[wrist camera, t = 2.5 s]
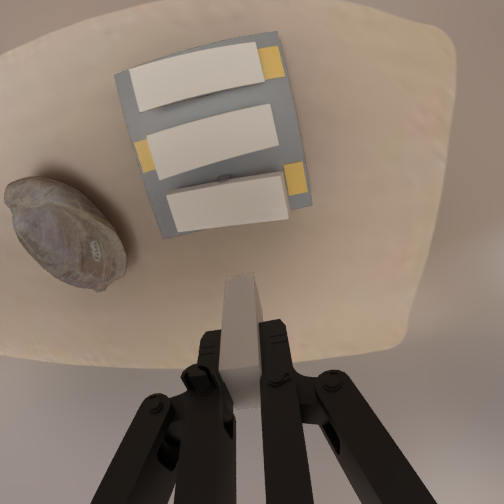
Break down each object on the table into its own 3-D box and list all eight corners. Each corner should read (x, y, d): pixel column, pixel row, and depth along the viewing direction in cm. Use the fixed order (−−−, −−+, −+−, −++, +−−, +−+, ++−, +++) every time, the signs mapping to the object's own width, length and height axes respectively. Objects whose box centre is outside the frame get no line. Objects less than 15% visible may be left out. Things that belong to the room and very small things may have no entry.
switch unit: (169, 228, 32) (159, 247, 28) (124, 77, 25) (106, 73, 20) (305, 196, 32) (317, 211, 27) (272, 38, 24) (280, 26, 20)
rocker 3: (185, 224, 28) (178, 232, 27) (174, 188, 27) (165, 195, 25) (290, 211, 26) (288, 219, 24) (283, 170, 24) (280, 175, 22)
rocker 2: (158, 177, 24) (159, 180, 22) (146, 135, 22) (146, 135, 20) (271, 144, 26) (278, 145, 24) (262, 104, 24) (270, 103, 22)
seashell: (133, 298, 31) (31, 232, 18) (63, 296, 34) (-26, 244, 20) (147, 223, 35) (71, 139, 22) (79, 232, 38) (6, 169, 24)
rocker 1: (140, 113, 21) (139, 112, 20) (130, 73, 19) (128, 69, 18) (257, 84, 23) (265, 81, 22) (248, 46, 21) (255, 41, 20)
